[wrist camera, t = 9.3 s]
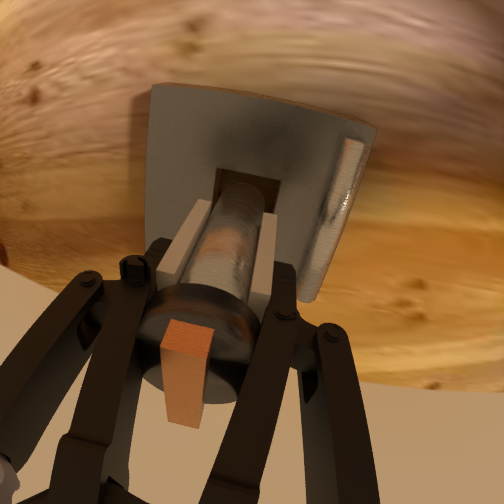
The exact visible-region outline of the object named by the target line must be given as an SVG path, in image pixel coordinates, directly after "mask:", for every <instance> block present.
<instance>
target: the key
mask: <svg viewBox="0 0 504 504" xmlns="http://www.w3.org/2000/svg"><path fill="white" fill-rule="evenodd" d="M264 206H265V202H264V197H263V195H262V193H261V192H260V190H259V189H258V188H257V187H255V186H254V185H252V184H250V183H246V182H236V183H232V184H230V185H228V186H227V187H226V188H225V189H224V190H223V191H222V193H221V195H220V197H219V199H218V201H217V203H216V205H215V207H214V209H213V211H212V213H211V215H210V217H209V219H208V221H207V224H206V226H205V228H204V230H203V232H202V234H201V236H200V238H199V240H198V242H197V244H196V246H195V249H194V251H193V253H192V255H191V257H190V259H189V261H188V263H187V266H186V268H185V270H184V272H183V274H182V277H181V279H180V281H179V283H178V284H174V285H171V286H167V287H165V288H163V289H161V290H160V291H158V292H157V293H156V294H155V295H154V296H153V297H152V298H151V300H150V301H149V303H148V305H147V307H146V310H145V312H144V314H143V317H142V319H141V322H140V324H139V327H138V329H137V331H136V333H135V335H134V337H136V343H137V349H138V354H139V360H140V365H141V370H142V375H143V378H144V379H145V380H146V381H148V382H149V383H150V384H152V385H153V386H155V387H156V388H158V389H160V390H162V391H164V393H165V402H166V410H167V417H168V422H172V423H176V424H180V425H184V426H188V427H192V428H196V429H199V426H200V421H201V417H202V413H203V409H204V404H224V403H231V402H235V401H237V399H238V396H239V393H240V390H241V387H242V385H243V382H244V379H245V376H246V373H247V370H248V367H249V365H252V357H253V352H254V349H255V346H256V343H257V340H258V337H259V334H260V331H261V324H260V322H259V319H258V318H257V316H256V314H255V313H254V312H253V311H252V309H251V308H250V307H249V306H248V305H247V303H248V297H249V291H250V286H251V280H252V274H253V268H254V262H255V256H256V251H257V245H258V239H259V233H260V227H261V223H262V218H263V212H264Z"/></svg>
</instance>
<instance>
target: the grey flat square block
mask: <svg viewBox="0 0 504 504" xmlns="http://www.w3.org/2000/svg"><path fill="white" fill-rule="evenodd" d="M376 132H377V128H375V127H374V126H372V125H371V124H370V123H368V122H366V121H363V120H359V119H356V118H353V117H350V116H347V115H343V114H340V113H336V112H333V111H329V110H326V109H322V108H318V107H314V106H310V105H306V104H302V103H298V102H294V101H289V100H285V99H280V98H275V97H270V96H265V95H260V94H255V93H249V92H243V91H237V90H231V89H224V88H216V87H209V86H200V85H191V84H180V83H167V82H166V83H160V84H154V85H152V90H151V100H150V110H149V121H148V134H147V150H146V172H145V253H146V251H147V250H148V249H149V247H150V245H151V244H152V242H153V241H155V240H157V239H158V238H160V237H162V238H167V239H172V240H174V238H175V236H176V235H177V233H178V231H179V230H180V228H181V226H182V225H183V223H184V222H185V220H186V218H187V217H188V215H189V213H190V212H191V210H192V209H193V207H194V205H195V204H196V202H197V201H198V199H201V200H207V201H212V203H211V211H210V215H211V213H212V211H213V209H214V207H215V205H216V203H217V201H218V194H219V187H220V181H221V174H222V169H227V170H232V171H238V172H243V173H248V174H252V175H257V176H262V177H267V178H271V179H276V180H280V181H279V185H278V190H277V194H276V198H275V202H274V206H273V210H272V214H274V215H277V227H276V240H275V252H274V261H279V262H284V263H288V264H292V265H293V267H294V269H295V271H296V298H297V299H298V300H299V301H301V302H304V303H310V302H312V301H313V300H314V301H315V299H316V297H317V294H318V292H319V290H320V287H321V285H322V282H323V280H324V278H325V275H326V273H327V270H328V268H329V265H330V263H331V260H332V258H333V255H334V253H335V250H336V248H337V245H338V242H339V240H340V237H341V235H342V232H343V229H344V227H345V224H346V221H347V219H348V216H349V213H350V210H351V207H352V205H353V202H354V199H355V196H356V193H357V190H358V188H359V185H360V182H361V179H362V176H363V173H364V170H365V167H366V164H367V161H368V157H369V154H370V151H371V148H372V145H373V142H374V138H375V135H376Z"/></svg>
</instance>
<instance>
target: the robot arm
mask: <svg viewBox="0 0 504 504" xmlns="http://www.w3.org/2000/svg"><path fill="white" fill-rule="evenodd" d="M211 203H212V201H207V200H201V199H198V201H197V202H196V204H195V205H194V207H193V209H192V210H191V212H190V213H189V215H188V217H187V218H186V220H185V222H184V223H183V225H182V226H181V228H180V230H179V231H178V233H177V235H176V236H175V238H174V240H172V239H167V238H162V237H160V238H158V239H157V240H155V241H153V242H152V244H151V245H150V247H149V249H148V250H147V251H146V253H145V254H144V256H141V255H130V256H127V257H125V258H123V259H122V260H121V261H120V262H119V265H120V274H121V280H103V278H102V276H101V274H100V273H98V272H96V271H92V270H90V271H84V272H81V273H79V274H78V275H77V276H75V278H74V279H73V280H72V281H71V282H70V283H69V284H68V285H67V286H66V287H65V288H64V289H63V291H62V292H61V293H60V294H59V295H58V296H57V297H56V299H54V301H53V302H52V303H51V304H50V305H49V306H48V307H47V309H46V310H45V311H44V312H43V313H42V315H41V316H40V317H39V318H38V319H37V320H36V321H35V323H34V324H33V325H32V326H31V328H30V329H29V330H28V331H27V332H26V334H25V335H24V336H23V337H22V339H21V340H20V341H19V342H18V344H17V345H16V346H15V347H14V349H13V350H12V352H11V353H10V354H9V355H8V357H7V358H6V359H5V361H4V362H3V363H2V365H1V366H0V504H12V495H13V493H14V492H15V491H16V490H18V489H19V487H20V482H19V480H18V478H17V475H16V473H17V472H18V471H19V470H20V469H21V468H22V467H23V466H24V464H25V463H26V462H27V461H28V459H29V457H30V456H31V454H32V452H33V451H34V449H35V447H36V445H37V444H38V441H39V440H40V438H41V436H42V434H43V432H44V431H45V429H46V427H47V426H48V424H49V422H50V420H51V419H52V417H53V415H54V414H55V412H56V410H57V408H58V407H59V405H60V403H61V402H62V400H63V398H64V397H65V395H66V393H67V392H68V390H69V389H70V387H71V385H72V384H73V382H74V381H75V379H76V377H77V376H78V374H79V373H80V371H81V370H82V368H83V366H84V365H85V363H86V362H87V360H88V359H89V357H90V356H91V354H92V356H91V359H90V362H89V365H88V368H87V371H86V374H85V377H84V380H83V384H82V387H81V390H80V394H79V397H78V401H77V404H76V408H75V412H74V415H73V419H72V423H71V427H70V430H69V432H68V433H66V434H64V435H63V436H62V437H61V438H60V440H59V443H58V447H57V451H56V455H55V460H54V465H53V470H52V475H51V481H50V486H49V489H47V490H45V491H42V492H40V493H38V494H36V495H34V496H32V497H30V498H28V499H25V500H23V501H21V502H19V503H17V504H149V503H147V502H145V501H143V500H141V499H140V498H138V497H136V496H134V495H132V494H131V493H129V492H128V487H129V469H128V462H129V454H130V447H131V441H132V434H133V428H134V422H135V416H136V410H137V404H138V399H139V393H140V388H141V383H142V378H143V375H142V370H141V365H140V360H139V354H138V349H137V343H136V337H134V335H135V333H136V331H137V329H138V327H139V324H140V322H141V319H142V317H143V314H144V312H145V310H146V307H147V305H148V303H149V301H150V300H151V298H152V297H153V296H154V295H155V294H156V293H157V292H158V291H160V290H161V289H163V288H165V287H167V286H171V285H174V284H178V283H179V281H180V279H181V277H182V274H183V272H184V270H185V268H186V266H187V263H188V261H189V259H190V257H191V255H192V253H193V251H194V249H195V246H196V244H197V242H198V240H199V238H200V236H201V234H202V232H203V230H204V228H205V226H206V224H207V221H208V219H209V217H210V211H211ZM276 227H277V215H274V214H270V213H265V212H264V214H263V218H262V223H261V227H260V233H259V239H258V245H257V251H256V256H255V262H254V268H253V274H252V280H251V286H250V291H249V297H248V303H247V305H248V306H249V307H250V308H251V309H252V311H253V312H254V313H255V314H256V316H257V318H258V319H259V322H260V324H261V331H260V334H259V337H258V340H257V343H256V346H255V349H254V352H253V357H252V365H249V367H248V370H247V373H246V376H245V379H244V382H243V385H242V387H241V390H240V393H239V396H238V399H237V402H236V405H235V407H234V410H233V413H232V416H231V419H230V421H229V424H228V427H227V430H226V432H225V435H224V438H223V441H222V443H221V446H220V449H219V452H218V454H217V457H216V460H215V462H214V465H213V468H212V470H211V473H210V476H209V478H208V480H207V483H206V485H205V488H204V490H203V493H202V496H201V498H200V501H199V503H198V504H257V503H258V499H259V494H260V482H261V478H262V475H263V471H264V468H265V464H266V460H267V456H268V453H269V450H270V445H271V442H272V438H273V435H274V431H275V427H276V423H277V419H278V415H279V411H280V406H281V403H282V399H283V394H284V390H285V386H286V382H287V377H288V373H289V368H290V367H291V368H294V369H296V370H297V374H298V386H299V397H300V410H301V423H302V436H303V450H304V465H305V482H306V483H305V484H306V503H307V504H380V498H379V491H378V484H377V477H376V471H375V464H374V458H373V452H372V447H371V441H370V435H369V430H368V425H367V419H366V414H365V410H364V404H363V400H362V395H361V390H360V386H359V381H358V377H357V372H356V368H355V364H354V359H353V355H352V351H351V347H350V343H349V339H348V336H347V334H346V331H345V330H344V329H343V328H342V327H340V326H338V325H337V324H333V323H323V324H321V325H320V326H319V327H317V326H315V325H312V324H310V323H308V322H306V321H305V320H304V319H302V318H301V316H300V314H299V312H298V310H297V307H296V271H295V269H294V267H293V265H292V264H288V263H284V262H279V261H274V252H275V240H276Z"/></svg>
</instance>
